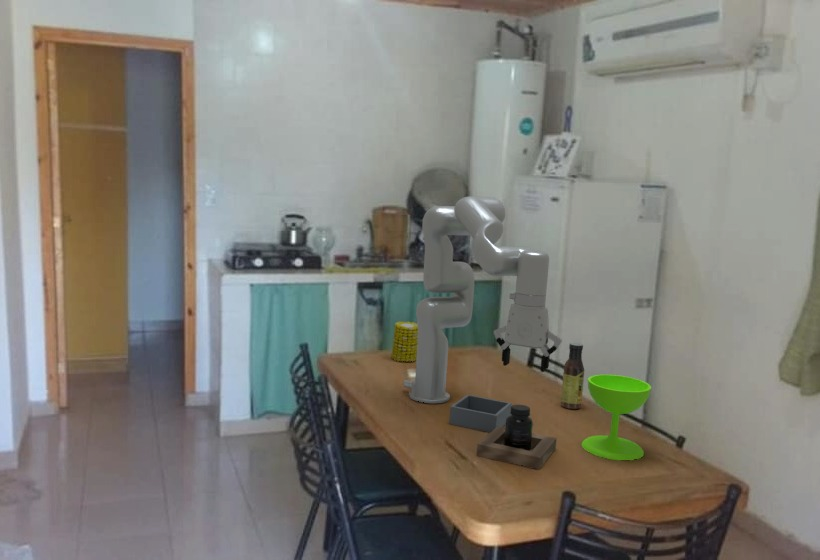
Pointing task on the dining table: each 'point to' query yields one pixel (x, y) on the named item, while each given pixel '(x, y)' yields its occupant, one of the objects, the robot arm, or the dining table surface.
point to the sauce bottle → (573, 378)
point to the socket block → (516, 449)
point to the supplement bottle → (519, 428)
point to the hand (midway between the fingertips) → (524, 367)
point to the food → (405, 341)
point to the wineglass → (616, 414)
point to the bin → (479, 413)
